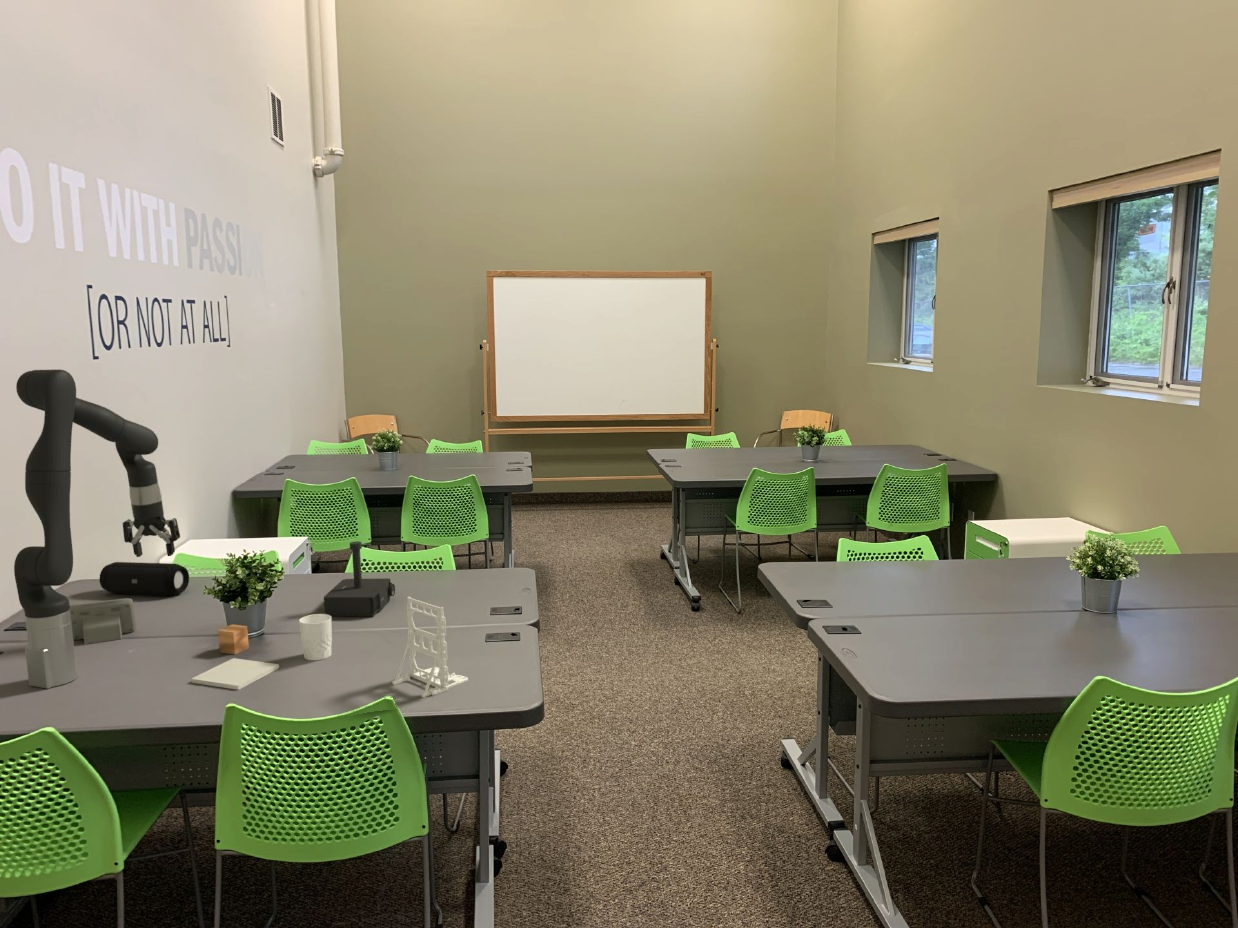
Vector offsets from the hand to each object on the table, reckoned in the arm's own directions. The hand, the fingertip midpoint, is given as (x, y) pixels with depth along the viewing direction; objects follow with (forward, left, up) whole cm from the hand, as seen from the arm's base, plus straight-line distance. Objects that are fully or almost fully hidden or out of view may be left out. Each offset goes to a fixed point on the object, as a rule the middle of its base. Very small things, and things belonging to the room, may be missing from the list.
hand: (155, 555), depth 256 cm
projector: (+34, -43, -22) cm, 59 cm away
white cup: (-4, -56, -22) cm, 60 cm away
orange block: (-7, -32, -21) cm, 39 cm away
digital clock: (-10, +10, -22) cm, 26 cm away
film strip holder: (-10, -93, -22) cm, 96 cm away
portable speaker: (+25, +32, -22) cm, 46 cm away
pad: (-21, -45, -21) cm, 54 cm away
